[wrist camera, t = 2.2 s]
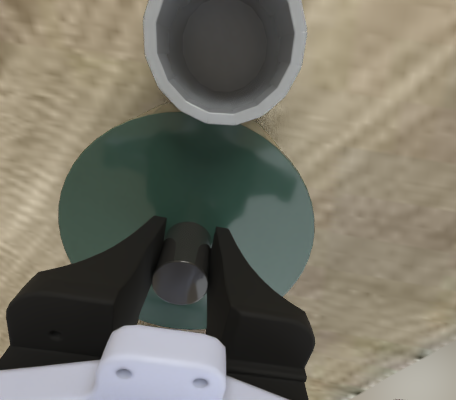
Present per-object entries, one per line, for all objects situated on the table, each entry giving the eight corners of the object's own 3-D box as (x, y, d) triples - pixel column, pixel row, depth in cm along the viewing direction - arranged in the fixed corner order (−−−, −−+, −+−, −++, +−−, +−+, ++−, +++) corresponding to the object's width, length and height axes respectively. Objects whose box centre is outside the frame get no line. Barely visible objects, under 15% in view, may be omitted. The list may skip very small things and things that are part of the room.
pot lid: (190, 344, 20) (182, 412, 17) (19, 223, 16) (-46, 276, 12) (355, 236, 17) (394, 291, 13) (190, 40, 12) (174, 34, 8)
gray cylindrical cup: (220, 117, 17) (219, 153, 11) (156, 42, 15) (108, 35, 9) (291, 52, 16) (337, 51, 9) (229, -38, 14) (233, -112, 8)
